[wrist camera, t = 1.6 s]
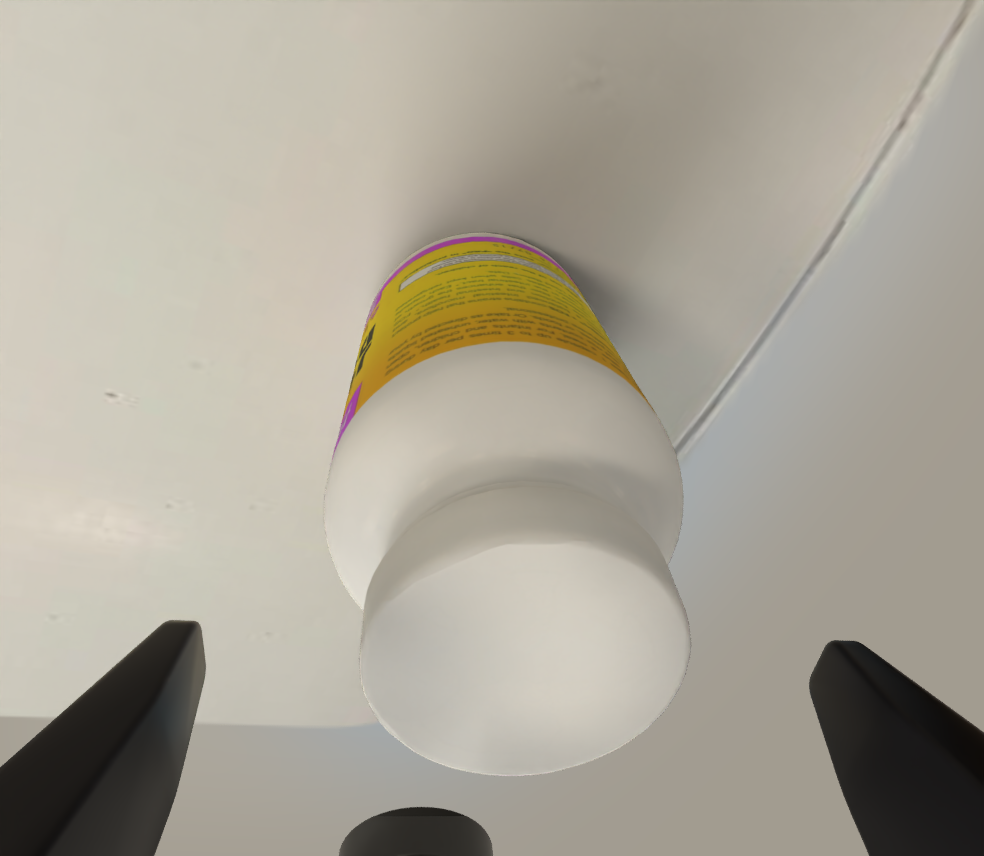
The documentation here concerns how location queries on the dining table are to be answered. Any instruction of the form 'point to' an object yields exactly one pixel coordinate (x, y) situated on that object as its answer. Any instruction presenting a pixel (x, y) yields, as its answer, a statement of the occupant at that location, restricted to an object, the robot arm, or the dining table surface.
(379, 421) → the supplement bottle
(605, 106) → the dining table surface
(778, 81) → the dining table surface
